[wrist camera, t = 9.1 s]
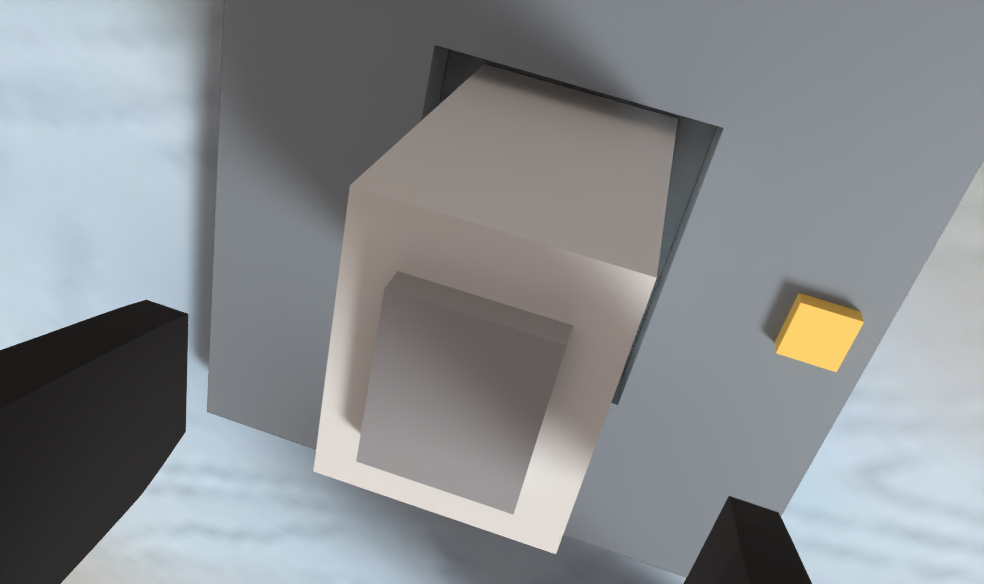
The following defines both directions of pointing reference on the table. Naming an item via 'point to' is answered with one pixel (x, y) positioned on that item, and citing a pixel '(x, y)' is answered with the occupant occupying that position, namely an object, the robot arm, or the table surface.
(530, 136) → the plug
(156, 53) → the table surface
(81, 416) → the robot arm
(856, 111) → the panel
